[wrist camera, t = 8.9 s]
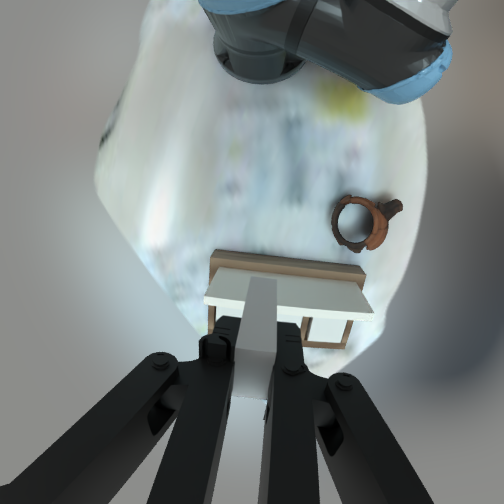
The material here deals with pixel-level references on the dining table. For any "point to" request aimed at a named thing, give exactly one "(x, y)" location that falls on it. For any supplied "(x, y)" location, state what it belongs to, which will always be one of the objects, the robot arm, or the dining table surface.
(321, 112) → the dining table surface
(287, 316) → the middle button
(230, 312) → the button
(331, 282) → the pattern card
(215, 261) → the button board
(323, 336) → the button
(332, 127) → the dining table surface
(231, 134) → the dining table surface
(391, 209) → the pottery mug
